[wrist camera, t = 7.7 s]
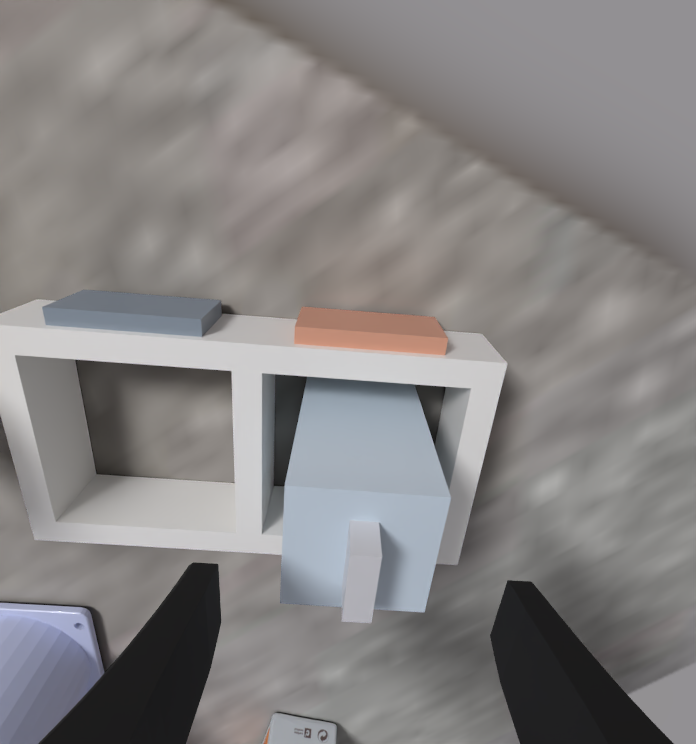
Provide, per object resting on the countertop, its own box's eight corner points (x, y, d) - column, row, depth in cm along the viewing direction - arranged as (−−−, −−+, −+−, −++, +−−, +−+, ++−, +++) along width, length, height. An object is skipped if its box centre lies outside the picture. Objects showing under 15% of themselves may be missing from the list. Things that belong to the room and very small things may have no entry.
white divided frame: (442, 513, 21) (457, 565, 18) (77, 490, 20) (34, 539, 17) (484, 318, 17) (511, 346, 14) (34, 283, 16) (-31, 304, 13)
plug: (399, 471, 20) (431, 651, 12) (302, 464, 20) (273, 641, 12) (414, 384, 18) (461, 530, 10) (307, 375, 18) (277, 518, 10)
